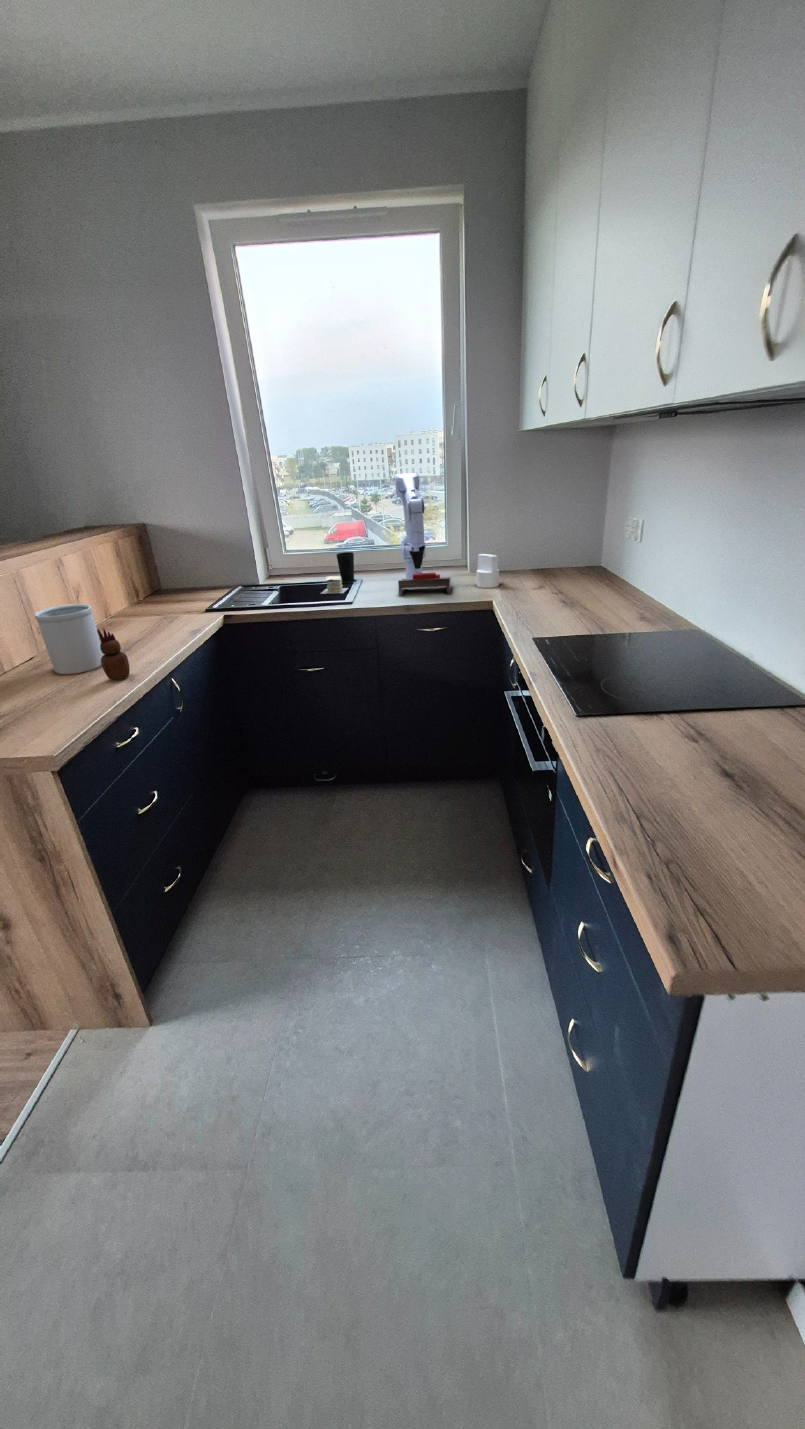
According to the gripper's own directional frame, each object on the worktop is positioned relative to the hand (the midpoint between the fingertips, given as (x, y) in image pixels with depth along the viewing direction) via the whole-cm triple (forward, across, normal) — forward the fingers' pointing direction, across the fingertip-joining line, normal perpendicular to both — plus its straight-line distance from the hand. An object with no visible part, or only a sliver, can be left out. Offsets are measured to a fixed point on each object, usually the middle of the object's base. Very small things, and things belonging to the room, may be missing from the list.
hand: (418, 566), depth 231 cm
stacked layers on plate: (+10, -4, -36) cm, 38 cm away
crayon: (+5, +3, +2) cm, 7 cm away
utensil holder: (+9, +81, -97) cm, 126 cm away
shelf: (+9, +3, +3) cm, 10 cm away
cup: (+10, -23, -34) cm, 42 cm away
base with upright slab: (+10, -3, +28) cm, 29 cm away
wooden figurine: (+9, +92, -78) cm, 121 cm away
